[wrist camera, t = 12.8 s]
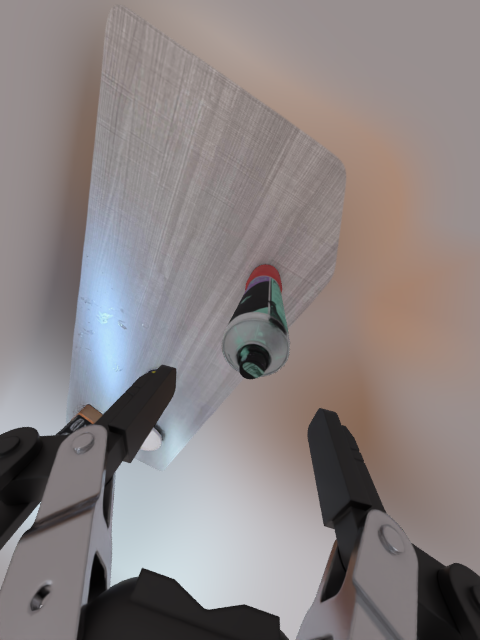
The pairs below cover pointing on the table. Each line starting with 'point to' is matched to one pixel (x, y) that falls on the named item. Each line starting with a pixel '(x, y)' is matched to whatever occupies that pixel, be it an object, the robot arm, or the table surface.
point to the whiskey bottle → (81, 420)
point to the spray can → (258, 331)
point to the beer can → (265, 274)
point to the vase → (152, 441)
